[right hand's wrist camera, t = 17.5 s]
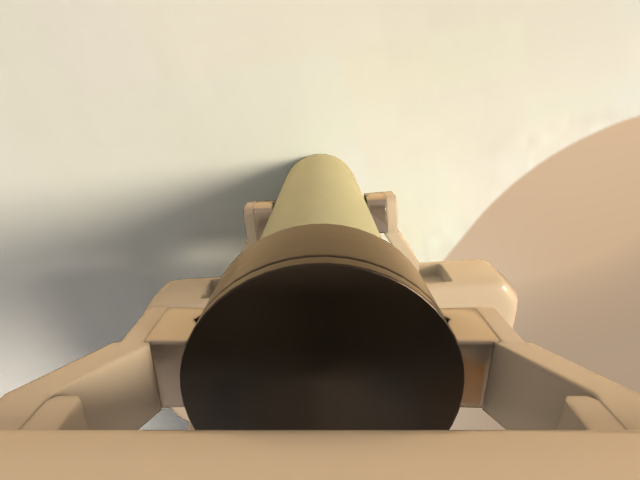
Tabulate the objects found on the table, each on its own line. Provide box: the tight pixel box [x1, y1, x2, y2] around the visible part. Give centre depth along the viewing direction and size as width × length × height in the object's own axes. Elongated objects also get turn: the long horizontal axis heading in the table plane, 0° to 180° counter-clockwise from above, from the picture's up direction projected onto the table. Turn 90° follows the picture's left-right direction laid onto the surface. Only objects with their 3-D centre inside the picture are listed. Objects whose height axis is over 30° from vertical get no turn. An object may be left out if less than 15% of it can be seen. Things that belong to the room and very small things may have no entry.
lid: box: [180, 224, 465, 430], centre depth 9 cm, size 6×6×2 cm
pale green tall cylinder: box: [260, 154, 382, 240], centre depth 17 cm, size 5×5×18 cm
